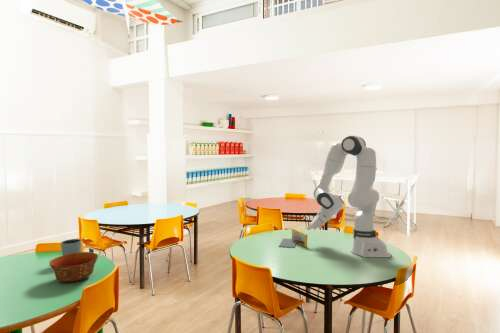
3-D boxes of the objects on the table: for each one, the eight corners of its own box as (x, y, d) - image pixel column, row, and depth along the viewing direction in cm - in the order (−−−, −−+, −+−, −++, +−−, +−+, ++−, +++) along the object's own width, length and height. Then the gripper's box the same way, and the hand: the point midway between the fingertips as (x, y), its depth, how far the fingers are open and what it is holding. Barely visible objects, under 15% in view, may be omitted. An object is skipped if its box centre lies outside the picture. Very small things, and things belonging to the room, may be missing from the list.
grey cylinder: (85, 261, 185) (85, 240, 185) (68, 266, 177) (67, 244, 176) (75, 258, 190) (74, 238, 190) (57, 263, 182) (56, 242, 181)
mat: (297, 239, 229) (297, 239, 229) (294, 247, 210) (294, 247, 210) (283, 239, 231) (283, 238, 231) (279, 246, 212) (279, 246, 212)
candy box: (291, 240, 226) (291, 228, 225) (293, 239, 227) (294, 228, 226) (304, 247, 211) (305, 234, 211) (307, 246, 212) (308, 234, 212)
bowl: (71, 290, 146) (71, 268, 145) (39, 283, 154) (38, 262, 153) (108, 274, 165) (107, 254, 165) (77, 268, 173) (76, 250, 173)
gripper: (320, 209, 225) (305, 222, 228) (319, 215, 205) (303, 229, 208) (326, 215, 224) (311, 228, 227) (326, 222, 204) (310, 236, 207)
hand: (307, 229), depth 217 cm, fingers closed
